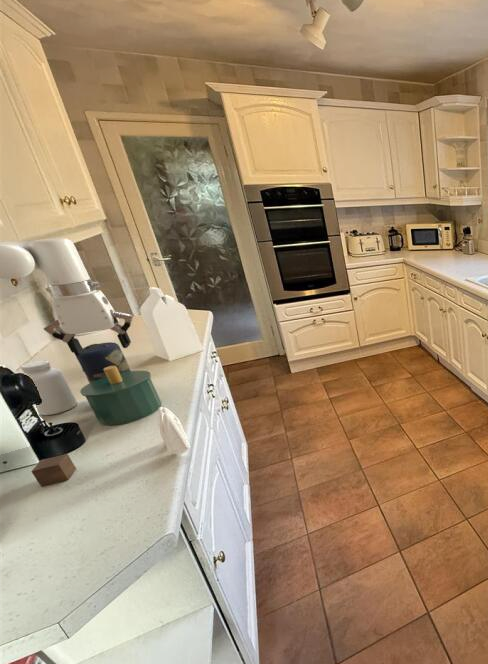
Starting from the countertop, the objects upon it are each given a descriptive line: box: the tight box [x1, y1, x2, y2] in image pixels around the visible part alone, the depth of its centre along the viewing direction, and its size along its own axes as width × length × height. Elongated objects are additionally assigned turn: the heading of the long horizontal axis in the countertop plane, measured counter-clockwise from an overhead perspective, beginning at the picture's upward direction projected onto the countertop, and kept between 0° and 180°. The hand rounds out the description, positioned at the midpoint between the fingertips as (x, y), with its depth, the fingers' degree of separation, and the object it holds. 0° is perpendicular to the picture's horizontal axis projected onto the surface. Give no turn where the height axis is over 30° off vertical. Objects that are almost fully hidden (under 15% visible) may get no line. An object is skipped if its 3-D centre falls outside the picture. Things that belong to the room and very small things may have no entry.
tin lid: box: [79, 366, 152, 398], centre depth 110 cm, size 15×15×6 cm
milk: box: [139, 286, 205, 362], centre depth 150 cm, size 12×12×26 cm
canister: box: [75, 342, 132, 384], centre depth 120 cm, size 10×10×18 cm
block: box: [31, 453, 77, 488], centre depth 89 cm, size 4×4×4 cm
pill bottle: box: [20, 359, 78, 416], centre depth 114 cm, size 8×8×15 cm
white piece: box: [157, 406, 191, 456], centre depth 97 cm, size 12×4×11 cm, turn 45°
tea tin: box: [84, 377, 162, 427], centre depth 113 cm, size 14×14×10 cm
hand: (103, 350), depth 107 cm, fingers open, 9 cm apart
